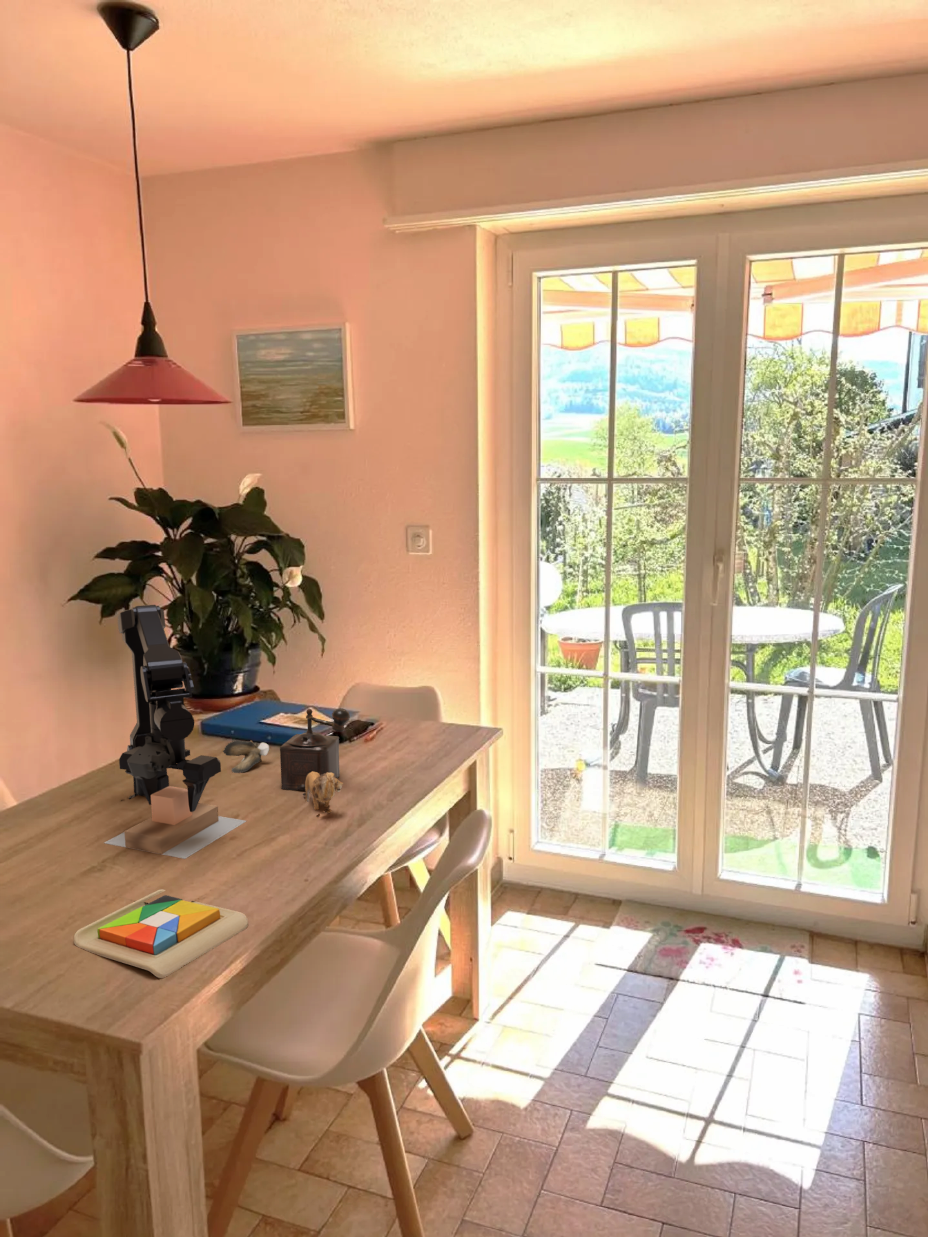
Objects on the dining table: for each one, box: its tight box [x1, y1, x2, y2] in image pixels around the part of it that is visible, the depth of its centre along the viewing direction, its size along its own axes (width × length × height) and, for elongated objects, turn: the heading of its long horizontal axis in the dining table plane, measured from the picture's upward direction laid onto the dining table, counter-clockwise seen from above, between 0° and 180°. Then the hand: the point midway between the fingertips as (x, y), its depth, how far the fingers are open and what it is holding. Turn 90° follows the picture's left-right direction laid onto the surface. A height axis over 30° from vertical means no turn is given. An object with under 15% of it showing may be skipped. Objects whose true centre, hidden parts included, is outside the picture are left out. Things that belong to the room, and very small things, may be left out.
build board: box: [103, 815, 247, 860], centre depth 166 cm, size 18×18×1 cm
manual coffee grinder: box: [279, 707, 351, 792], centre depth 193 cm, size 16×11×18 cm
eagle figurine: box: [222, 739, 270, 774], centre depth 205 cm, size 8×7×9 cm
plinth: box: [123, 802, 219, 855], centre depth 165 cm, size 8×16×3 cm, turn 158°
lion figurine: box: [302, 771, 344, 817], centre depth 180 cm, size 15×5×9 cm, turn 35°
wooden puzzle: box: [73, 889, 249, 979], centre depth 132 cm, size 18×19×4 cm
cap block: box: [150, 785, 192, 825], centre depth 164 cm, size 5×5×5 cm
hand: (172, 807), depth 164 cm, fingers open, 9 cm apart
